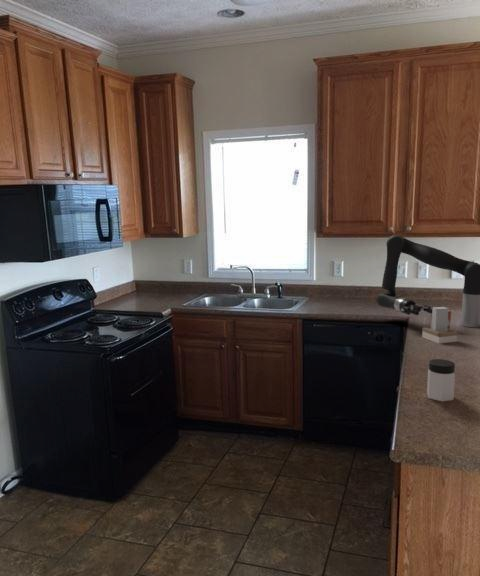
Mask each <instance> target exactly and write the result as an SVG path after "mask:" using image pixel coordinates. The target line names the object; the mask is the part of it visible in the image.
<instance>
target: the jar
mask: <svg viewBox="0 0 480 576" xmlns="http://www.w3.org/2000/svg"><path fill="white" fill-rule="evenodd" d="M455 367H456V363H454V362H453V361H451V360H448V359H443V358H440V359H439V358H436V359H435V358H434V359H431V360H428V368H427V381H426V382H427V383H426V395H427V397H428V399H430V400H435V401H438V402H449V401H454V397H455V396H454V395H455V380H456V372H455V369H456V368H455Z"/></svg>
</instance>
